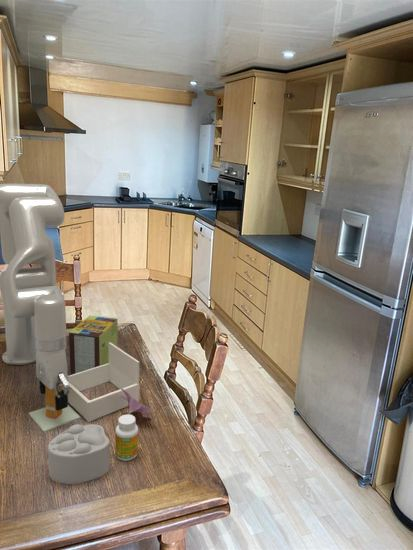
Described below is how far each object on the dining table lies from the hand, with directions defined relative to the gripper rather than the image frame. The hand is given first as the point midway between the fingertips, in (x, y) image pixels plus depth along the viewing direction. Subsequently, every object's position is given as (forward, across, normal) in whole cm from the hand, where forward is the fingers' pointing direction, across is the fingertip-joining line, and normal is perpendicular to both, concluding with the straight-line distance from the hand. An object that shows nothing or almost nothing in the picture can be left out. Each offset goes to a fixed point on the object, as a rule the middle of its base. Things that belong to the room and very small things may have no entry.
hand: (53, 400), depth 116 cm
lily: (+5, +15, +16) cm, 23 cm away
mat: (+5, 0, 0) cm, 5 cm away
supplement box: (+5, 0, 0) cm, 5 cm away
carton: (+5, 0, +14) cm, 15 cm away
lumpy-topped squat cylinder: (+5, +22, -4) cm, 23 cm away
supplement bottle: (+5, +25, +7) cm, 26 cm away
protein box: (+5, -18, +22) cm, 29 cm away
